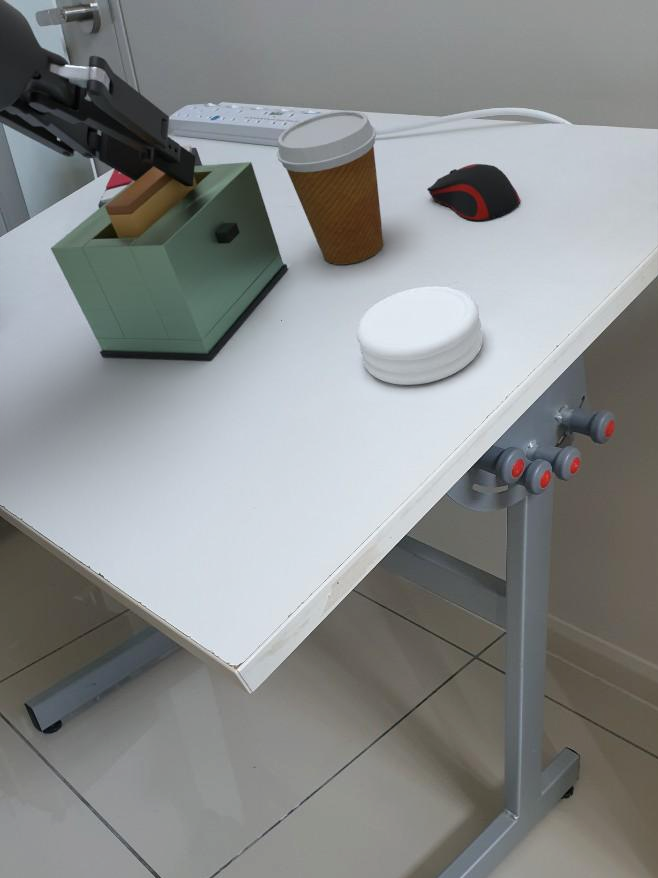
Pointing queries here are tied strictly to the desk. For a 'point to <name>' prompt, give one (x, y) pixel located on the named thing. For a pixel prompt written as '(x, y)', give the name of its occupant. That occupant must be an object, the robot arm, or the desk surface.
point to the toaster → (176, 270)
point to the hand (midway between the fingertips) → (171, 172)
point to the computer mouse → (476, 192)
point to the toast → (145, 203)
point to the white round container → (420, 335)
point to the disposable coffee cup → (336, 182)
